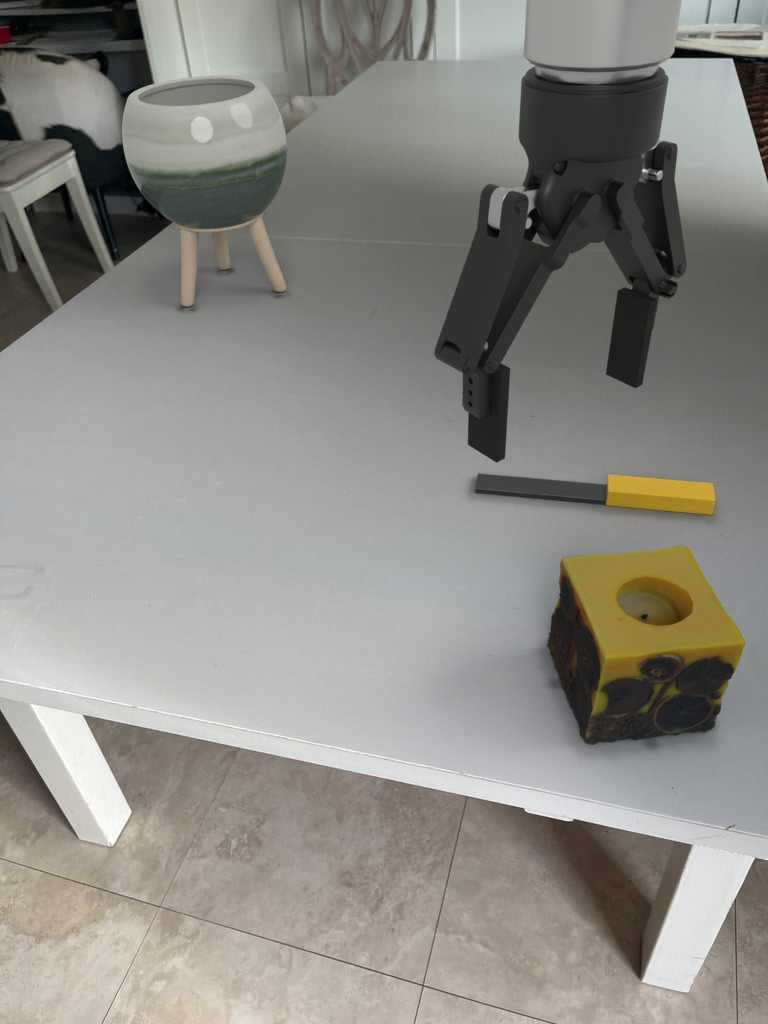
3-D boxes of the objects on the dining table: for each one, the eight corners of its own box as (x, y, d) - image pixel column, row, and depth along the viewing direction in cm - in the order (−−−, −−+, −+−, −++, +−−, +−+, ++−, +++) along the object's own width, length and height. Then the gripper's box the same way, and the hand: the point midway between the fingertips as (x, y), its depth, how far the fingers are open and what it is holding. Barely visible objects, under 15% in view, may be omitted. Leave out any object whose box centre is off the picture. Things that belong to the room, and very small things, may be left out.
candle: (545, 644, 66) (555, 554, 60) (664, 630, 67) (687, 540, 61) (582, 749, 59) (598, 659, 52) (716, 732, 59) (749, 641, 53)
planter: (217, 252, 136) (184, 68, 119) (329, 271, 128) (311, 76, 110) (128, 305, 122) (75, 104, 104) (248, 331, 113) (212, 117, 95)
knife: (709, 497, 80) (712, 483, 79) (711, 515, 78) (715, 500, 77) (478, 477, 84) (478, 463, 83) (474, 493, 82) (475, 479, 81)
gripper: (683, 24, 50) (632, 337, 63) (359, 99, 39) (381, 460, 52) (796, 37, 45) (716, 372, 58) (465, 126, 34) (459, 515, 47)
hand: (558, 414), depth 55 cm, fingers open, 13 cm apart
